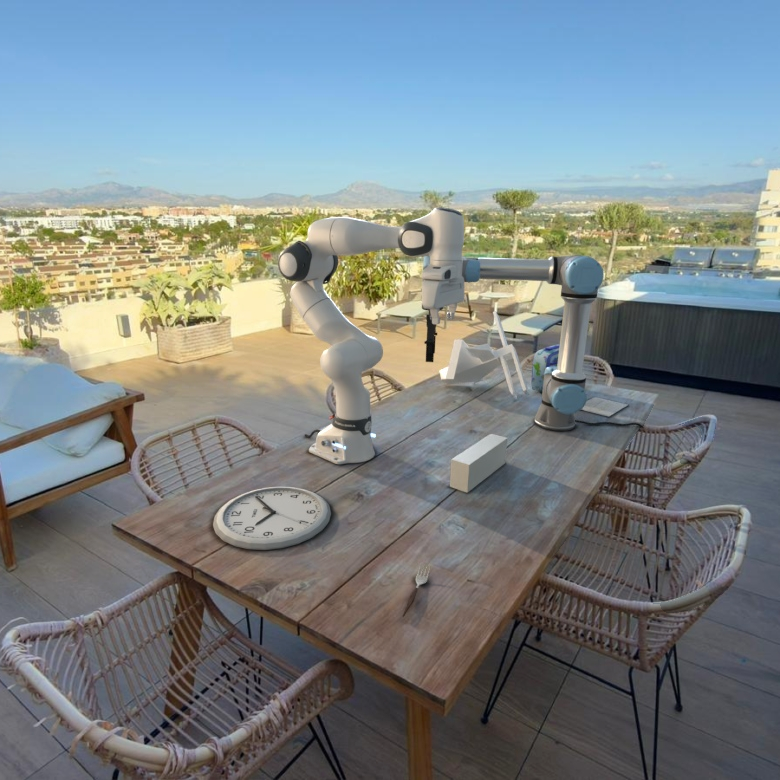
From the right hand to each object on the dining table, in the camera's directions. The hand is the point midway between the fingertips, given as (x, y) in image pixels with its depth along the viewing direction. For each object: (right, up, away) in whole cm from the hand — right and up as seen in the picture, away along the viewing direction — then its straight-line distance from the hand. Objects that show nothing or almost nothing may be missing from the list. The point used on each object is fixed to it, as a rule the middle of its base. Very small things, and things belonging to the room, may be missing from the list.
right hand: (430, 357), depth 190 cm
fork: (-9, -54, -81) cm, 98 cm away
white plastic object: (+27, -13, +54) cm, 61 cm away
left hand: (0, +7, -44) cm, 44 cm away
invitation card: (+77, -19, +37) cm, 87 cm away
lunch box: (+63, -12, +60) cm, 88 cm away
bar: (+13, -38, -27) cm, 49 cm away
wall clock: (-45, -45, -53) cm, 83 cm away
